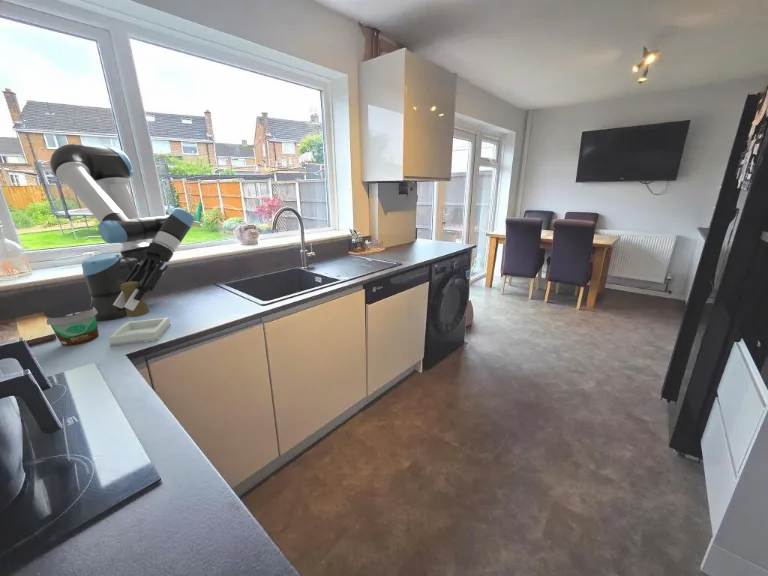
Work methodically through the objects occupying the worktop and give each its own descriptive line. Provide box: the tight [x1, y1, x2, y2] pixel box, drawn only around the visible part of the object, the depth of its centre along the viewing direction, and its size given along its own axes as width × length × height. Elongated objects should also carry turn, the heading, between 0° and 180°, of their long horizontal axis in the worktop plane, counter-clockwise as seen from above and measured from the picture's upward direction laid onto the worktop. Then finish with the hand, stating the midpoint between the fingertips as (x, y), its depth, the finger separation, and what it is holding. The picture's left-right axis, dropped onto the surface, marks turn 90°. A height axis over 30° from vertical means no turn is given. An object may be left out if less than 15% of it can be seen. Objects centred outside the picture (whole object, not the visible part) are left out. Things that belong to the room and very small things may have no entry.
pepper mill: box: [121, 281, 150, 318], centre depth 106 cm, size 6×6×11 cm
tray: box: [107, 317, 172, 347], centre depth 109 cm, size 13×13×3 cm
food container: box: [46, 307, 100, 347], centre depth 104 cm, size 12×6×10 cm, turn 148°
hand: (123, 307), depth 103 cm, fingers closed on pepper mill, 5 cm apart
